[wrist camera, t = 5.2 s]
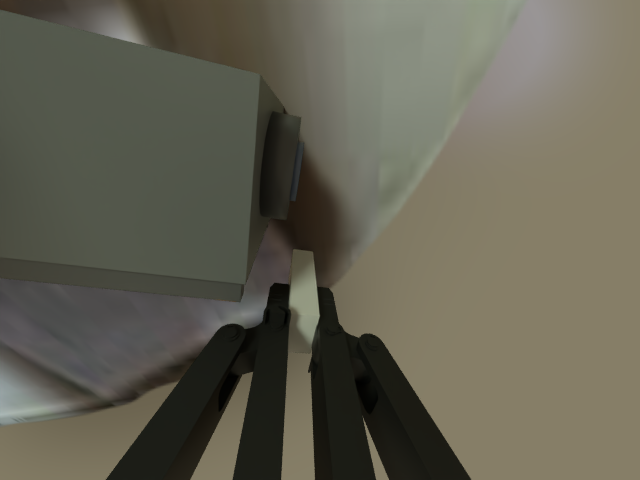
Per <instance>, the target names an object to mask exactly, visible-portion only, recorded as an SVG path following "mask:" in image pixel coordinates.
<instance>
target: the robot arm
mask: <svg viewBox="0 0 640 480" xmlns="http://www.w3.org/2000/svg"><path fill="white" fill-rule="evenodd" d="M311 348H312V358H311V362H310V366H309V370H308V373H309V372H310V371H311V388H312V389H311V390H312V412H313V413H312V414H313V438H314V439H313V440H314V463H315V480H376V478H375V473H374V468H373V463H372V459H371V454H370V449H369V445H368V440H367V436H366V431H365V426H364V422H363V418H364V421H365V422H366V425H367V428H368V430H369V433H370V435H371V437H372V440H373V442H374V444H375V447H376V449H377V451H378V454H379V456H380V459H381V461H382V464H383V466H384V468H385V471H386V473H387V475H388V478H389V480H471V479H470V477H469V475H468V474H467V472H466V471H465V470H464V468H463V466H462V464H461V463H460V462H459V460H458V458H457V457H456V455H455V454H454V452H453V451H452V449H451V447H450V446H449V444H448V443H447V441H446V440H445V438H444V437H443V435H442V433H441V432H440V430H439V429H438V427H437V426H436V424H435V423H434V421H433V419H432V418H431V416H430V415H429V414H428V412H427V410H426V409H425V407H424V406H423V404H422V403H421V401H420V400H419V398H418V396H417V395H416V393H415V391H414V390H413V388H412V387H411V385H410V384H409V382H408V381H407V379H406V378H405V376H404V374H403V373H402V371H401V370H400V368H399V367H398V365H397V363H396V362H395V360H394V359H393V357H392V356H391V354H390V353H389V351H388V349H387V348H386V347H385V345H384V343H383V342H382V341H381V340H380V339H379V338H378V337H377V336H375V335H373V334H363V335H361V337H360V338H358V337H355V336H352V335H350V334H348V333H346V332H345V331H344V330H343V328H342V326H341V325H340V324H339V322H338V317H337V312H336V307H335V301H334V297H333V293H332V292H331V290H330V289H329V288H323V287H317V285H316V276H315V266H314V256H313V252H312V251H304V250H297V249H293V254H292V260H291V266H290V273H289V279H288V284H281V283H274V284H273V285H272V286H271V287H270V291H269V296H268V301H267V307H266V309H265V311H264V315H263V321H262V323H260V324H259V325H258V326H256V327H253V328H249V329H244V328H243V327H242V326H240V325H238V324H227V325H225V326H223V327H221V328H220V329H219V330H218V331H217V332H216V333H215V334H214V336H213V337H212V338H211V340H210V341H209V342H208V344H207V345H206V346H205V348H204V349H203V350H202V352H201V353H200V355H199V356H198V357H197V359H196V360H195V361H194V363H193V364H192V365H191V367H190V368H189V369H188V371H187V372H186V373H185V375H184V376H183V377H182V379H181V380H180V381H179V383H178V384H177V385H176V387H175V388H174V389H173V391H172V392H171V393H170V395H169V396H168V397H167V399H166V400H165V401H164V403H163V404H162V405H161V407H160V408H159V409H158V411H157V412H156V413H155V415H154V416H153V417H152V419H151V420H150V421H149V423H148V424H147V426H146V427H145V428H144V430H143V431H142V432H141V434H140V435H139V436H138V438H137V439H136V440H135V441H134V443H133V444H132V445H131V447H130V448H129V449H128V451H127V452H126V454H125V455H124V456H123V457H122V459H121V460H120V461H119V463H118V464H117V465H116V467H115V468H114V470H113V471H112V472H111V473H110V475H109V476H108V478H107V479H106V480H190V479H191V477H192V475H193V473H194V471H195V469H196V467H197V465H198V463H199V461H200V459H201V457H202V455H203V453H204V451H205V449H206V447H207V445H208V442H209V441H210V439H211V437H212V435H213V433H214V431H215V429H216V427H217V425H218V423H219V421H220V419H221V417H222V415H223V413H224V411H225V409H226V407H227V405H228V403H229V401H230V399H231V396H232V395H233V392H234V391H235V389H236V386H237V384H238V383H239V381H240V378H241V376H242V374H246V373H249V372H253V377H252V382H251V387H250V392H249V398H248V402H247V408H246V413H245V418H244V423H243V429H242V434H241V439H240V444H239V449H238V454H237V460H236V465H235V470H234V476H233V480H281V471H282V452H283V433H284V413H285V396H286V377H287V358H288V352H295V353H310V352H311ZM362 416H363V417H362Z"/></svg>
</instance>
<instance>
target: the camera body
mask: <svg viewBox="0 0 640 480" xmlns="http://www.w3.org/2000/svg"><path fill="white" fill-rule="evenodd" d="M283 112H284V106H283V105H282V103H281V102H280V101H279V99H278V98H277V97H276V95H275V94H274V92H273V91H272V90H271V88H270V87H269V86H268V84H267V83H266V82H265V80H264V79H263V78H262V76H261V75H260V74H257V73H253V72H249V71H245V70H241V69H237V68H233V67H229V66H225V65H221V64H217V63H213V62H209V61H205V60H201V59H197V58H192V57H188V56H184V55H180V54H176V53H172V52H168V51H164V50H160V49H156V48H152V47H148V46H144V45H140V44H136V43H132V42H128V41H124V40H120V39H116V38H112V37H108V36H104V35H100V34H96V33H92V32H88V31H84V30H80V29H76V28H71V27H67V26H63V25H59V24H55V23H51V22H47V21H43V20H39V19H35V18H31V17H27V16H23V15H19V14H15V13H11V12H7V11H3V10H0V278H4V279H14V280H24V281H34V282H44V283H54V284H64V285H74V286H84V287H94V288H104V289H114V290H124V291H134V292H144V293H154V294H164V295H174V296H184V297H194V298H204V299H214V300H225V301H235V302H240V301H241V299H242V296H243V293H244V284H245V285H246V282H247V279H248V276H249V274H250V271H251V268H252V265H253V263H254V260H255V257H256V255H257V252H258V249H259V246H260V244H261V241H262V238H263V236H264V233H265V230H266V228H267V227H268V222H269V219H270V218H275V219H282V220H287V214H288V208H289V202H290V201H296V195H297V189H298V183H299V177H300V170H301V163H302V156H303V149H304V143H303V142H299V141H298V139H299V132H300V124H301V117H297V116H293V115H289V114H284V113H283Z"/></svg>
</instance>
